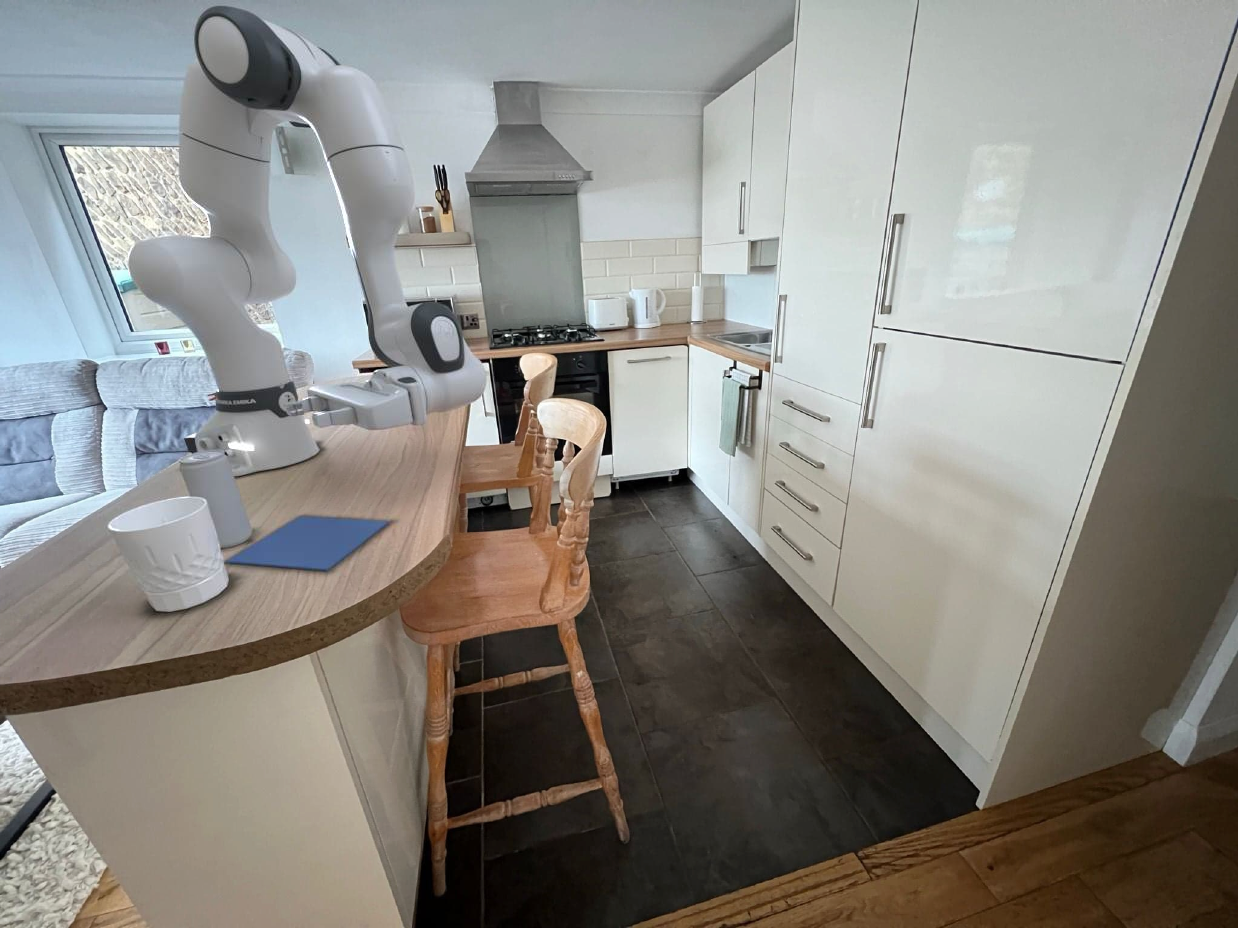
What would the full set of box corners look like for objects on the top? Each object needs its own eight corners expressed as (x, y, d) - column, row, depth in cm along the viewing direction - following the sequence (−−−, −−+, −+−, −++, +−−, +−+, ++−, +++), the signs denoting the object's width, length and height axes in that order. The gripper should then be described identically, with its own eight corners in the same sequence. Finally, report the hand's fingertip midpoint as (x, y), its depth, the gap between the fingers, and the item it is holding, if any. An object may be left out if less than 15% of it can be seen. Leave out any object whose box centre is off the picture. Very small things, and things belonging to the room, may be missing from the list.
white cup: (180, 575, 59) (148, 498, 56) (250, 570, 60) (223, 494, 56) (125, 619, 52) (84, 533, 48) (205, 613, 52) (171, 527, 49)
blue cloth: (226, 562, 62) (225, 560, 62) (301, 517, 73) (300, 515, 73) (327, 571, 59) (326, 569, 59) (388, 523, 70) (388, 521, 70)
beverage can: (230, 551, 64) (199, 463, 60) (199, 548, 65) (166, 462, 61) (262, 532, 69) (235, 449, 64) (233, 530, 70) (204, 448, 65)
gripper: (359, 369, 86) (267, 384, 76) (425, 383, 73) (326, 404, 63) (367, 405, 88) (278, 424, 78) (432, 425, 76) (337, 451, 66)
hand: (300, 415), depth 71 cm, fingers open, 8 cm apart
